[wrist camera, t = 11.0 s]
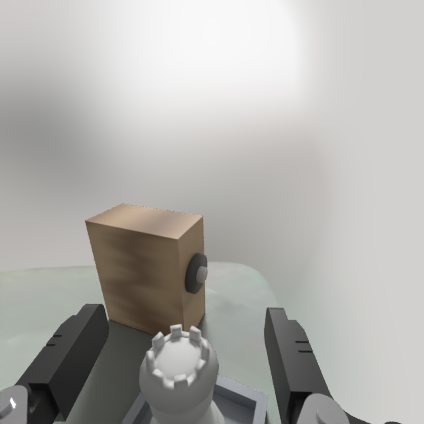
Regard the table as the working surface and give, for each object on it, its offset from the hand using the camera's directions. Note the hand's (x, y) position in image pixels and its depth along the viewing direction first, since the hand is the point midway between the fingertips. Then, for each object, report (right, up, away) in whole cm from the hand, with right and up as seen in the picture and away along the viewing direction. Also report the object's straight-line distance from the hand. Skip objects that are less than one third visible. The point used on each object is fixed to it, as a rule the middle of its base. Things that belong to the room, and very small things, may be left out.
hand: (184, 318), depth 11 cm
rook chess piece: (0, -8, +1) cm, 8 cm away
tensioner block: (-4, -5, +10) cm, 12 cm away
